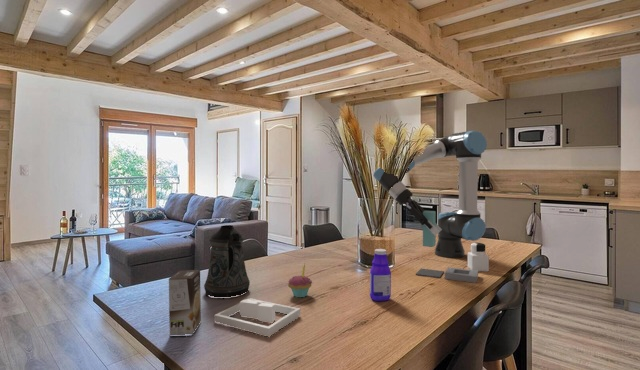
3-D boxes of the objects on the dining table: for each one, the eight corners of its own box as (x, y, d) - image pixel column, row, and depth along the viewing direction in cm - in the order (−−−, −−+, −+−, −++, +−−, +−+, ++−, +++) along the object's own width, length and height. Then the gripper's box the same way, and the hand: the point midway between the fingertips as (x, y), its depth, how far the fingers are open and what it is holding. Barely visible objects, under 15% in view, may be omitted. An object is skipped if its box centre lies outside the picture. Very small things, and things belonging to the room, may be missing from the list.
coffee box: (193, 336, 96) (192, 278, 96) (169, 337, 96) (167, 279, 95) (201, 322, 106) (200, 269, 105) (179, 323, 105) (178, 270, 105)
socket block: (448, 272, 156) (448, 267, 156) (478, 276, 150) (478, 270, 150) (444, 278, 147) (444, 272, 147) (475, 282, 142) (476, 276, 142)
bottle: (387, 295, 128) (387, 247, 127) (393, 301, 122) (393, 251, 122) (367, 297, 126) (367, 248, 126) (372, 302, 121) (372, 252, 120)
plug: (425, 244, 158) (425, 210, 157) (435, 245, 156) (435, 211, 155) (422, 246, 154) (422, 212, 153) (433, 247, 152) (433, 212, 151)
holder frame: (249, 305, 119) (249, 298, 119) (300, 316, 110) (300, 308, 109) (214, 323, 105) (214, 314, 105) (269, 337, 95) (268, 328, 95)
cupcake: (315, 293, 131) (314, 261, 131) (306, 301, 123) (306, 266, 123) (293, 290, 134) (293, 259, 133) (284, 298, 126) (283, 264, 125)
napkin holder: (231, 317, 111) (230, 299, 110) (264, 309, 117) (264, 292, 117) (249, 335, 98) (249, 314, 98) (286, 324, 104) (285, 305, 104)
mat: (420, 269, 162) (420, 268, 162) (443, 272, 157) (443, 271, 157) (415, 275, 153) (415, 273, 153) (439, 278, 148) (439, 277, 148)
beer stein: (225, 282, 144) (224, 221, 143) (264, 289, 136) (263, 224, 135) (194, 295, 129) (193, 227, 128) (236, 303, 121) (235, 231, 120)
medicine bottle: (483, 267, 165) (483, 241, 164) (488, 271, 158) (489, 244, 157) (467, 267, 165) (467, 241, 165) (472, 271, 158) (472, 244, 158)
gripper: (400, 198, 169) (435, 235, 162) (389, 200, 154) (427, 241, 146) (411, 187, 166) (448, 224, 159) (401, 188, 151) (441, 229, 144)
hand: (438, 232), depth 153 cm, fingers closed on plug, 5 cm apart
